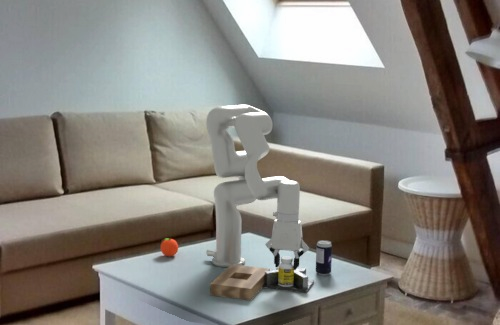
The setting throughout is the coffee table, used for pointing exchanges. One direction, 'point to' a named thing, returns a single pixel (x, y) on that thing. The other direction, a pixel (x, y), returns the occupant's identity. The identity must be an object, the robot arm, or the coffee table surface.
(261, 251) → the coffee table surface
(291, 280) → the supplement bottle
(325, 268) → the beverage can
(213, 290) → the wooden block with hole
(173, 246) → the clementine
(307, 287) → the v block
